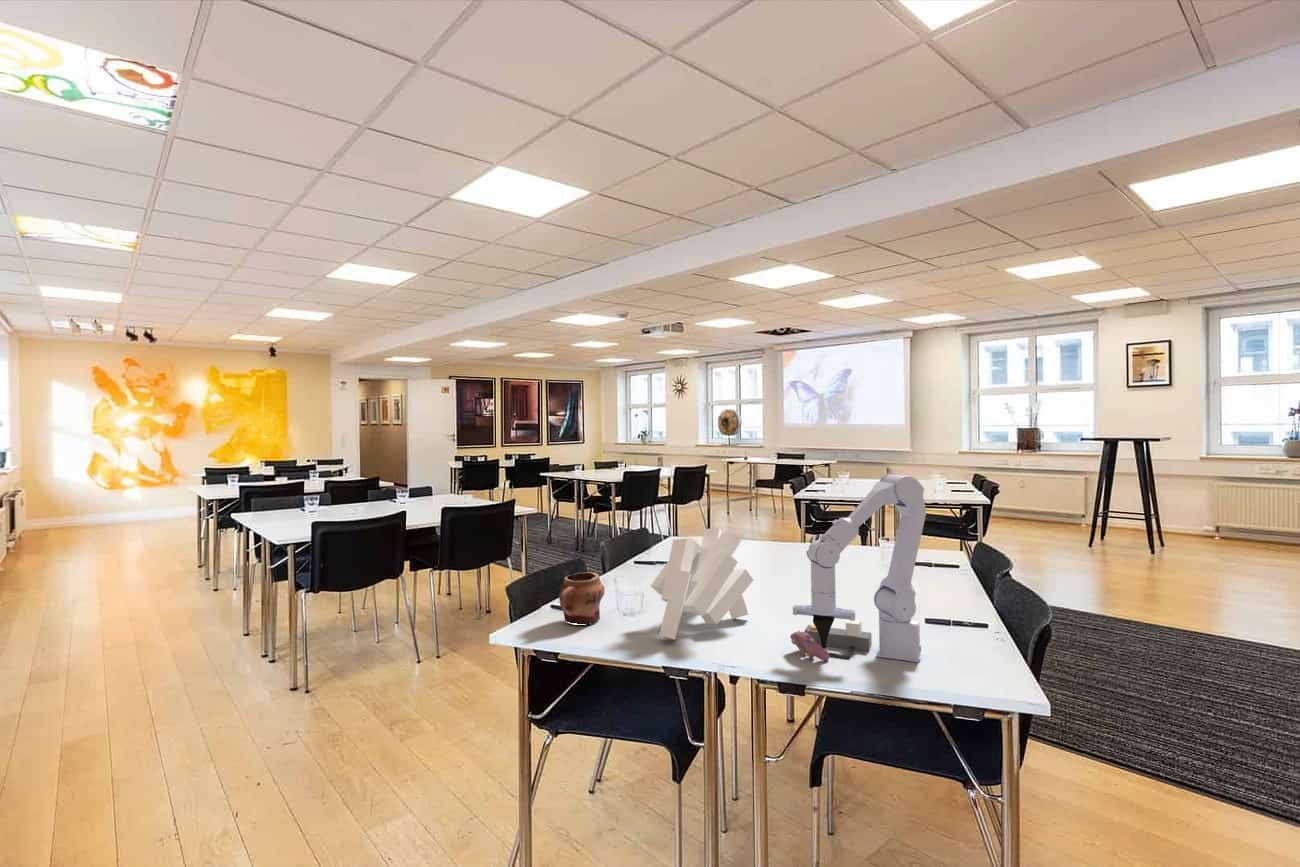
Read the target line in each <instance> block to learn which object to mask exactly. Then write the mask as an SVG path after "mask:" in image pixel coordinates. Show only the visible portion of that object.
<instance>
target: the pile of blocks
mask: <svg viewBox="0 0 1300 867" xmlns="http://www.w3.org/2000/svg"><path fill="white" fill-rule="evenodd" d="M741 542H742V539H740V538H739V537H738V536H737V535H736V534H735V533H733V532H732V531H725V532H723V531H722V529H721V527H713V528H706V529H703V534H702V540H701V545H699V543H698V542H697V541H695V539H694V538H690V537H689V538H679V539H673V540H672V544H671V549H670V554H669V558H668V560H667V562H666V564H665V565H664V566H663V567H662V569H661V570H660V572H659V573H658V575H657V576H656V578H655V579H654V580H653V581H652V583H651V585H650V587H651V588H652V589H653V590H654V591H656V593H658V595H660V596H661V598H660V599H661V600H662V601H663V602H666V604H665V605H666V606H665V609H664V613H663V614H664V615H663V617H662V618H663V619H662V623H661V625H660V630H659V633H658V634H659V636H661V637H664V638H667V639H672V640H676V639H675V638H677V635H678V630H679V627H680V621H681V617H682V614H685V615H686V616H690V617H691V616H692V617H693V616H701V618H702V619H703V621H704V622H705V623H706V624H709V625H718V624H719V622H721V620H722V619H723V618H724V617H725V615H727V613H728V612H729V614H730V618H731V620H734V619H738V618H740V617H744V616H748V615H750V614H751V613H752V612H751V611H750V608H749V604H748V602H747V598H746V595H745V593H744V592H746V590H747V589H748V587H749V586H750V585H751V584H752V583H753V582H754V579H753V577H752V576H751V575H750V573H749V572H748V570H747V569H746V568H743V569H742V568H739V569H738V568H736V566H737V564H738V563H739V562H738V560H736V559H735V558H734V557H733V554H734V553H735V551H736V549H737V548H738V547H739V545H740V543H741Z"/></svg>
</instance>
